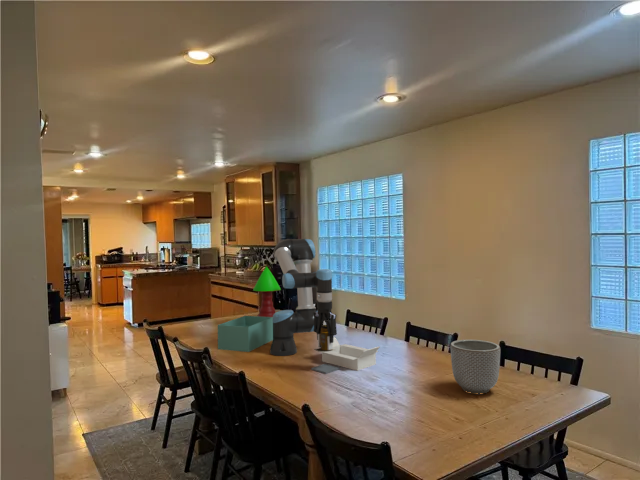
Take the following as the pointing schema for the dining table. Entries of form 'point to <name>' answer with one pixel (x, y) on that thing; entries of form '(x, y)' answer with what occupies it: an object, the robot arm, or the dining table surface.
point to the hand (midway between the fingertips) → (325, 348)
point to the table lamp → (266, 292)
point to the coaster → (325, 368)
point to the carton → (350, 356)
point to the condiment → (324, 340)
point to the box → (245, 333)
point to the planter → (475, 364)
